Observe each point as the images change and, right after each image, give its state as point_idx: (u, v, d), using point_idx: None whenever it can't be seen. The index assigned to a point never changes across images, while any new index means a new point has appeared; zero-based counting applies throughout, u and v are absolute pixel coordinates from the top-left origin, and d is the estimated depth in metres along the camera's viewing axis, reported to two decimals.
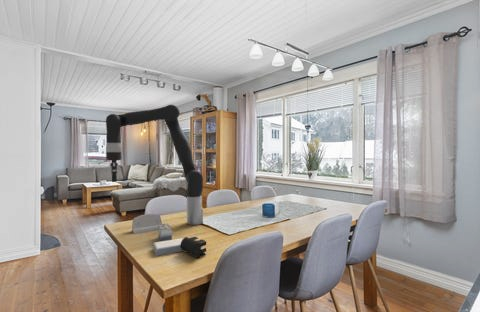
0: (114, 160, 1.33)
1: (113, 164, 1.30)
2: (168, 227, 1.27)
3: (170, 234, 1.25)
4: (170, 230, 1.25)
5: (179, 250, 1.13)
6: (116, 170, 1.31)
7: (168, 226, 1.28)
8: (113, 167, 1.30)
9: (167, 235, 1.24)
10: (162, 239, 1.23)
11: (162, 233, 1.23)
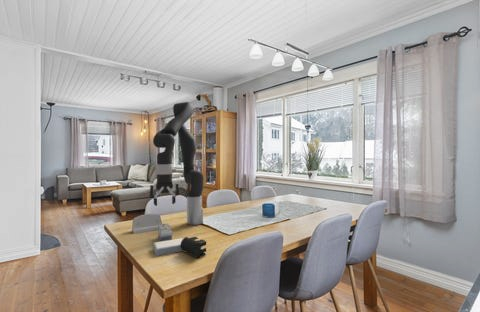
0: None
1: None
2: (168, 227, 1.27)
3: (170, 234, 1.25)
4: (170, 230, 1.25)
5: (179, 250, 1.13)
6: None
7: (168, 226, 1.28)
8: None
9: (167, 235, 1.24)
10: (162, 239, 1.23)
11: (162, 233, 1.23)
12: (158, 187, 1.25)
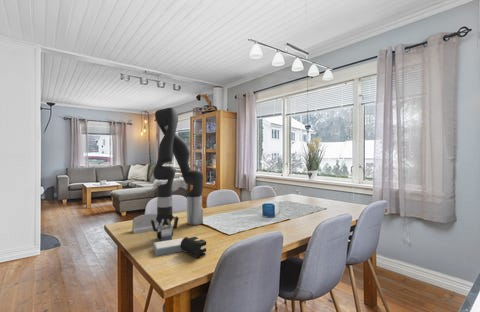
0: None
1: None
2: (168, 227, 1.27)
3: (170, 234, 1.25)
4: (170, 230, 1.25)
5: (179, 250, 1.13)
6: None
7: (168, 226, 1.28)
8: None
9: (167, 235, 1.24)
10: (162, 239, 1.23)
11: (162, 233, 1.23)
12: (158, 221, 1.26)
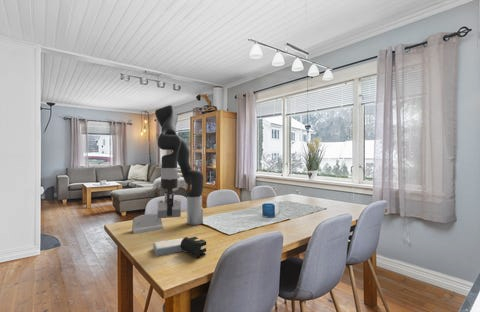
0: None
1: None
2: None
3: None
4: None
5: (179, 250, 1.13)
6: None
7: None
8: None
9: None
10: None
11: (180, 205, 1.16)
12: None
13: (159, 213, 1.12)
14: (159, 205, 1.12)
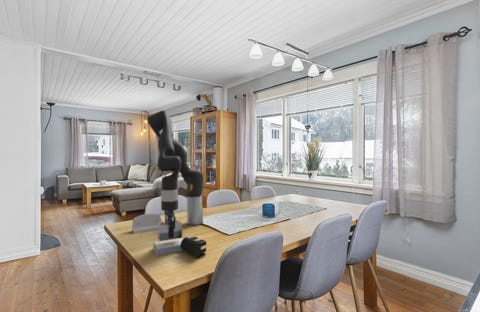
0: None
1: None
2: None
3: None
4: None
5: (179, 250, 1.13)
6: None
7: None
8: None
9: None
10: (181, 232, 1.16)
11: (181, 226, 1.16)
12: None
13: (161, 236, 1.12)
14: (160, 228, 1.11)
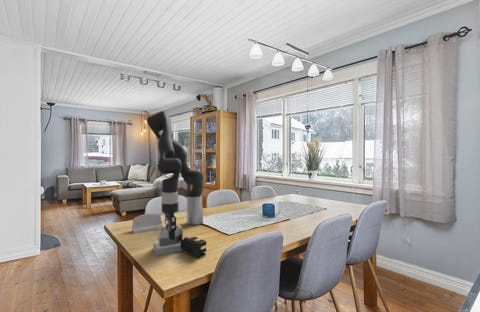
0: None
1: None
2: None
3: None
4: None
5: (179, 250, 1.13)
6: None
7: None
8: None
9: None
10: None
11: None
12: None
13: (161, 241, 1.12)
14: (161, 233, 1.12)
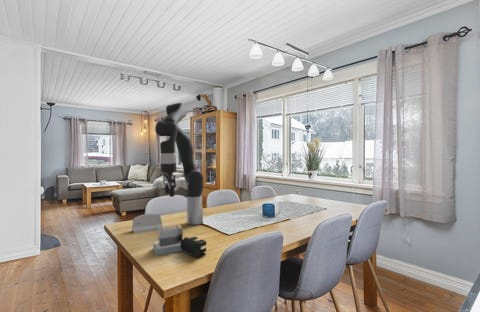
0: None
1: None
2: (174, 226, 1.18)
3: None
4: None
5: (179, 250, 1.13)
6: (163, 181, 1.29)
7: (171, 226, 1.18)
8: None
9: None
10: None
11: None
12: None
13: (161, 241, 1.12)
14: (161, 233, 1.12)
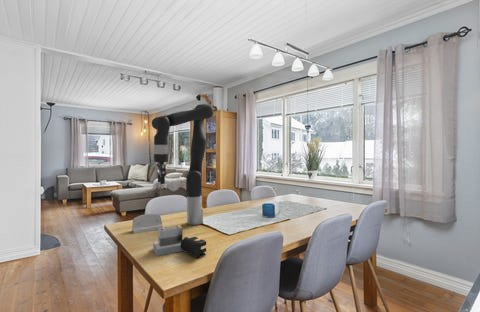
0: None
1: None
2: (174, 226, 1.18)
3: None
4: None
5: (179, 250, 1.13)
6: None
7: (171, 226, 1.18)
8: None
9: None
10: None
11: None
12: None
13: (161, 241, 1.12)
14: (161, 233, 1.12)
